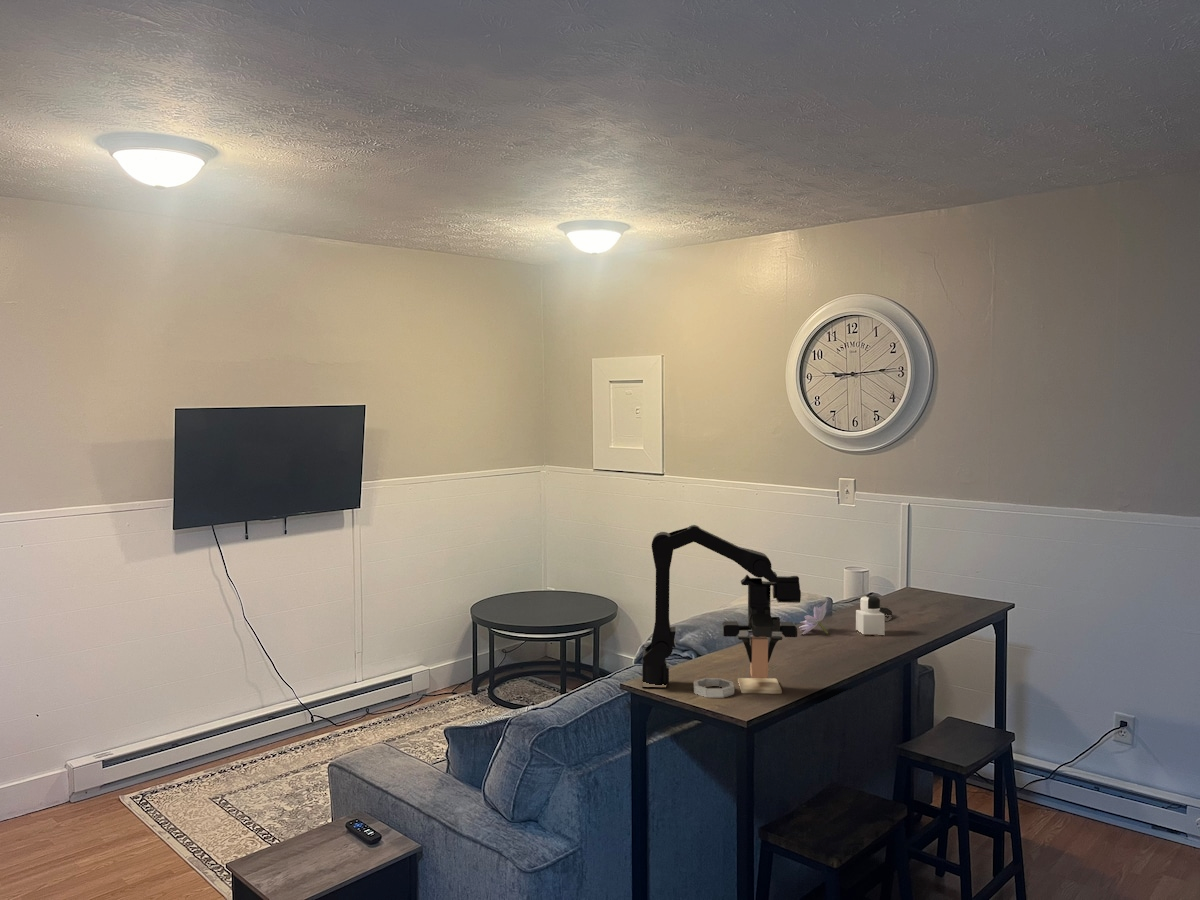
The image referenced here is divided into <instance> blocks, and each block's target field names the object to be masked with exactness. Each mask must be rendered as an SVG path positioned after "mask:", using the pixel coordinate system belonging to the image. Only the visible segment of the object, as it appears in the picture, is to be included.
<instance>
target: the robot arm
mask: <svg viewBox="0 0 1200 900" xmlns="http://www.w3.org/2000/svg"><path fill="white" fill-rule="evenodd" d="M692 543H696V544H698V545H700V546H702V547H704V548H707V549H709V550H711V551H713V552H714V553H717V554H719V555H721V556H723V557H725V558H727V559H729V560H731V561H733V562H735V563H736V564H738V565H739V566H740V567H742V569H743V570H745V571H747V572H748V573H749V574H751V575H753V576H754V577H751V576H750V575H748V574H746V575H745V576H744V577H743V578H742V579H741V580H740V584H741V586H747V624H739V622H738V621H736V620H735V621H732V620H730V621H729V620H728V621H727V620H725V621H723V622H722V623H721V633H722V635H723V637H730V638H731V637H732V638H733V637H737V639H738V640H741V641H742V643H743V645H744V648H745V650H746V655H747V658H748V661H749V663H751V662H752V656H751V647H750V635H749V634H750V633H752V635H753V636H754V637H767V638H768V664H769V662H770V660H771V657H772V654H773V651H774V649H775V647H776V645H777V643H778V642H779V641H783V636H784V637H785V638H797V637H798V627H797V626H796V624H795V623H794V622H793V621H781V618H780V617H779V616H772V615H771V592H772V599H775V600H776V602H777V603H784V604H785V603H787V604H789V603H790V604H791V603H793V604H799V603H801V599H802V595H801V594H802V592H801V591H802V590H801V587H800V586H801V585H800V577H799V576H798V575H791V576H785V575H784V576H781V575H780V576H779V575H778V574H777V572H776V571H774V570H773V569H772V562H771V560H770V559H769V557H768V556H767V555H766V554H765V553H763V552H760V551H757V550H753V549H749V548H745V547H741V546H738V545H736V544H734V543H731V542H730V541H728V540H726V539H723V538H721V537H720V536H717V535H715V534H713V533H711V532H709V531H707V530H705V529H704V528H701V527H700V526H698V525H696V524H691V525H689V526H688V527H685V528H681V529H677V530H675V531H671V532H666V531H660V532H657V533H656V534H655V535H654V536H653V538H652V542H651V551H652V558H653V562H654V567H655V611H654V612H655V616H654V617H655V618H654V619H655V621H654V624H653V625H654V627H653V630H652V631H653V632H652V636H651V642H650V644H648V646H646V647H645V648H644V650H643V655H642V661H641V662H642V663H641V665H642V669H641V670H642V671H641V673H642V680H641V682H642V681H643V682H646V683H649V684H655V685H662V684H664V685H666V684H667V685H669V683H670V666H669V665H668V664H667V660H666V659H667V658H669V657H670V656H671V655H672V654H673V651H674V648H675V649H676V643H677V642H676V629H677V627H676V626H671V622H670V572H671V571H670V569H671V565H672V558H673V553H674V550H677V549H680V548H682V547H684V546H687V545H689V544H692ZM763 578H764V579H765V581H764V580H763ZM766 580H767V581H766ZM771 586H772V590H771Z"/></svg>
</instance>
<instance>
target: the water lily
mask: <svg viewBox="0 0 1200 900" xmlns="http://www.w3.org/2000/svg"><path fill="white" fill-rule="evenodd" d="M827 603H828V600H826V601H825V603H823V604H822V606H816V605H814V606H813V615H804V617H803V618H804V619H805V620H803V621H799V623H801V624H803V625H800V626H799V627H798V628H799V629H800V631H803V632H802V633H801V634H803V635H805V634H807V633H809V632H810V631H812V630H813V629H814V628H815V627H817V626H818V625H819V626H820V627H821V629H822V630H823V631H824V633H825V632H826V633H829V632H828V631H827V629H826V628H825V627H824V626H823V625H822V624H821V622H822V620H823V619H824V617H825V616H826V614H827V605H828V604H827ZM826 633H825V634H826Z"/></svg>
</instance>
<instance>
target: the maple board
mask: <svg viewBox="0 0 1200 900" xmlns="http://www.w3.org/2000/svg"><path fill="white" fill-rule="evenodd" d="M737 683H739V684H738V686H740V687H739V689H740V691H741V694H772V695H773V694H779V695H782V694H783V691H782V687H781V685H780V684H779V682H778V679H777V678H771V677H768V678H752V677H737Z"/></svg>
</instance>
